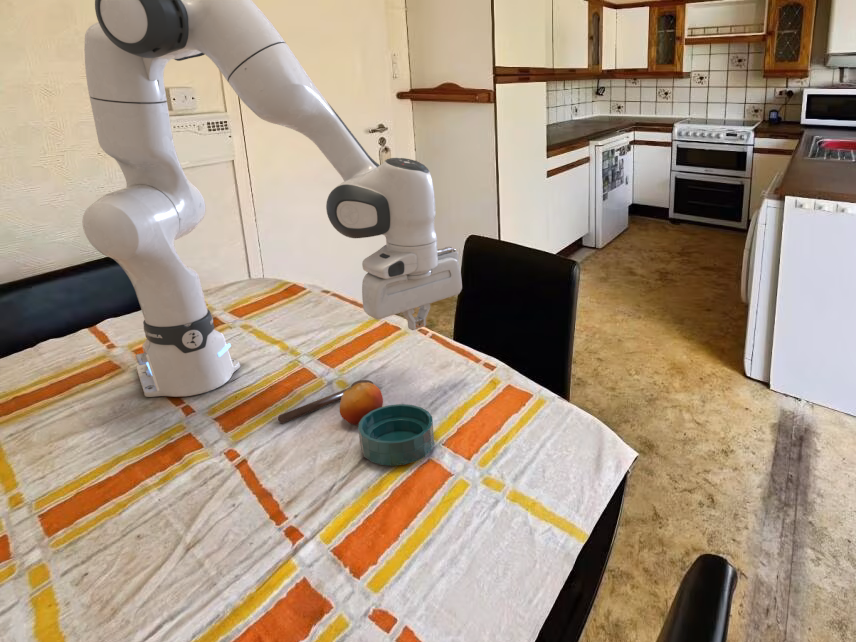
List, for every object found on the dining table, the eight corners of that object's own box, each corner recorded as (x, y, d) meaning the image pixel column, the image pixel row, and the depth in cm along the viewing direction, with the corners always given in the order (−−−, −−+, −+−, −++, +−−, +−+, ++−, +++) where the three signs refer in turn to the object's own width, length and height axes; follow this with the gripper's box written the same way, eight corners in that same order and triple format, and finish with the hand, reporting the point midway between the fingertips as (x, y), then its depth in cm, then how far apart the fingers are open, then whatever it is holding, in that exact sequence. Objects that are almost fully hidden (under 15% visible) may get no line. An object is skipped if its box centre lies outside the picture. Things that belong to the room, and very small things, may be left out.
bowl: (347, 447, 106) (344, 422, 104) (405, 420, 114) (403, 397, 111) (389, 478, 99) (386, 452, 96) (448, 447, 106) (447, 422, 104)
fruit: (385, 426, 109) (358, 390, 107) (351, 442, 112) (325, 407, 110) (400, 403, 116) (375, 369, 114) (368, 418, 119) (343, 385, 117)
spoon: (273, 419, 114) (271, 412, 113) (366, 382, 127) (365, 375, 126) (284, 428, 111) (283, 421, 111) (378, 390, 124) (377, 383, 123)
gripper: (446, 241, 119) (448, 309, 125) (353, 263, 106) (361, 337, 112) (468, 248, 115) (469, 317, 121) (374, 272, 102) (382, 348, 109)
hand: (417, 327), depth 117 cm, fingers closed
